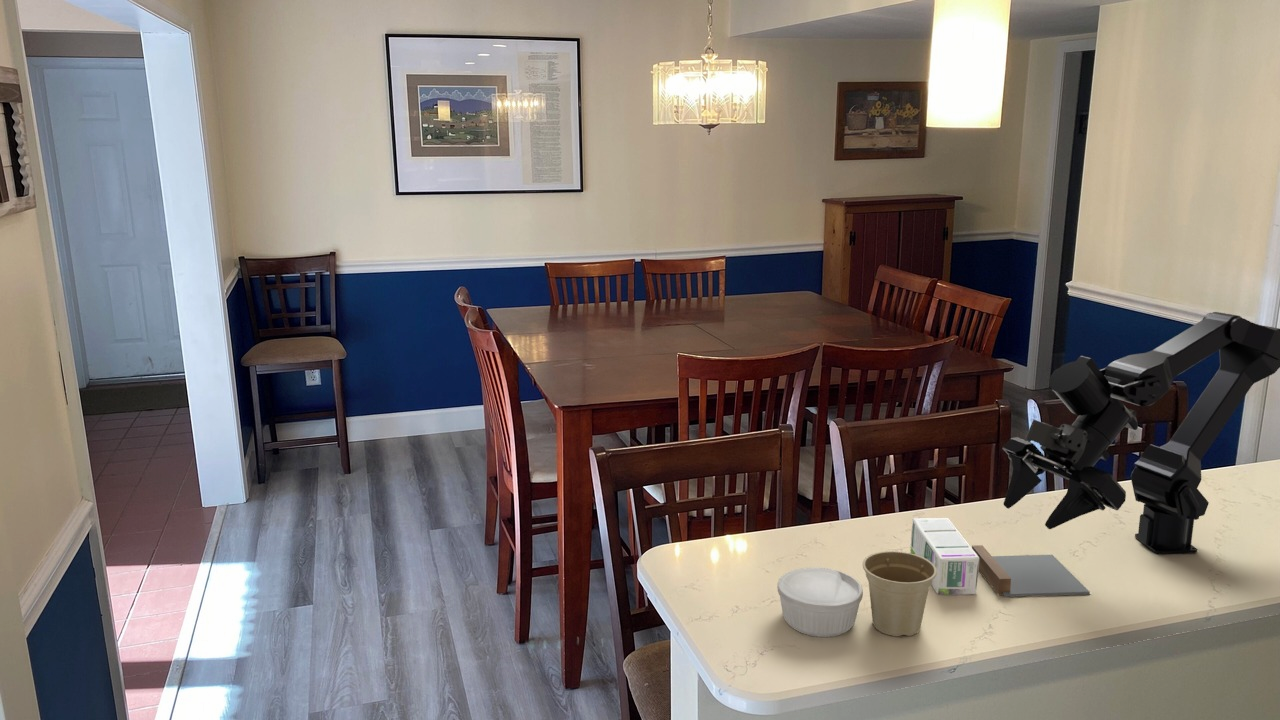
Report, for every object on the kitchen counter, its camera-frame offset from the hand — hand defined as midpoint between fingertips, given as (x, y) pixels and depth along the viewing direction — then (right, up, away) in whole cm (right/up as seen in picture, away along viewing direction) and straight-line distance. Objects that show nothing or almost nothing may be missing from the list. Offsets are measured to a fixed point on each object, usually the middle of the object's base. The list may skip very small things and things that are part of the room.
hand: (1025, 516), depth 132 cm
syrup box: (-10, -5, +11) cm, 16 cm away
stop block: (-4, -9, +3) cm, 11 cm away
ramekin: (-31, -13, -8) cm, 35 cm away
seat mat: (+2, -9, +3) cm, 10 cm away
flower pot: (-21, -13, -10) cm, 27 cm away
